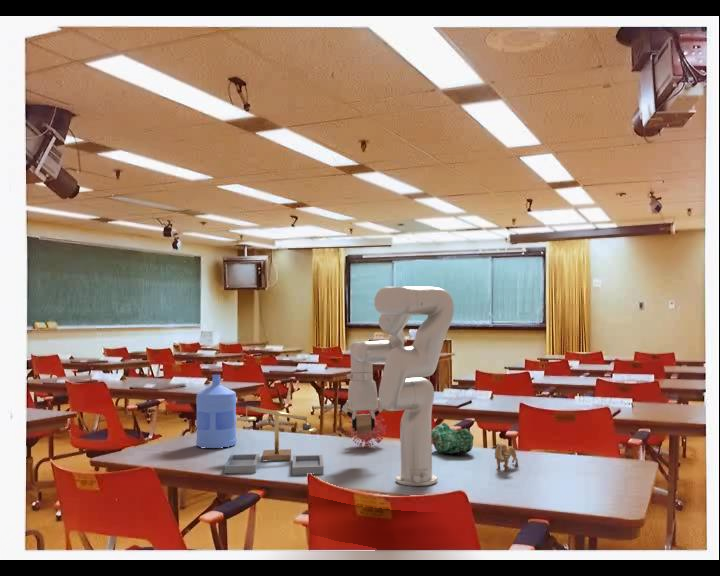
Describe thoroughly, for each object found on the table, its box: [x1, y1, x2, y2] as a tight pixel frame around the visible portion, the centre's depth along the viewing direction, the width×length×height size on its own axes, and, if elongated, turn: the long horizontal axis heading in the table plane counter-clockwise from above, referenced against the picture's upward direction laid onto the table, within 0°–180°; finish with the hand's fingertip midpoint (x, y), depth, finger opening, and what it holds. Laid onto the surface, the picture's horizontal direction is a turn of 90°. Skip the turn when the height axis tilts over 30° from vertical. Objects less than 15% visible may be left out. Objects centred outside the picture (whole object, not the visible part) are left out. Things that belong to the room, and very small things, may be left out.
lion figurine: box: [494, 443, 519, 472], centre depth 218 cm, size 15×5×9 cm, turn 152°
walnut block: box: [355, 413, 372, 434], centre depth 229 cm, size 5×5×6 cm
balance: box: [236, 405, 317, 461], centre depth 239 cm, size 10×28×19 cm, turn 95°
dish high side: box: [224, 453, 260, 474], centre depth 225 cm, size 18×10×2 cm, turn 5°
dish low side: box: [291, 454, 325, 476], centre depth 222 cm, size 18×10×2 cm, turn 5°
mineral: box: [431, 422, 474, 455], centre depth 244 cm, size 18×16×10 cm
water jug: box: [195, 374, 237, 448], centre depth 264 cm, size 16×16×28 cm
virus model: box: [347, 410, 387, 448], centre depth 257 cm, size 15×15×15 cm
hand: (363, 429), depth 229 cm, fingers closed on walnut block, 5 cm apart
